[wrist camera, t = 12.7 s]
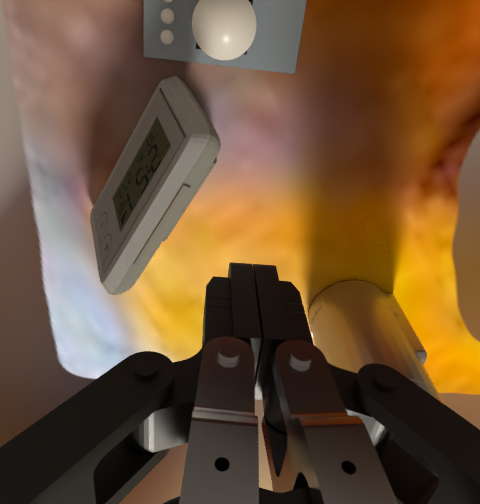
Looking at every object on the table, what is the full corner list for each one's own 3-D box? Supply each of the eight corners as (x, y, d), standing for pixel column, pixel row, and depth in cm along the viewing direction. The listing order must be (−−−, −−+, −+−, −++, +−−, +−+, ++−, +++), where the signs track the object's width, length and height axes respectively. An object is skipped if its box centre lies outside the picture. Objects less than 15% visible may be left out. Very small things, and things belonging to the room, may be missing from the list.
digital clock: (176, 61, 36) (163, 87, 27) (253, 137, 39) (264, 182, 30) (65, 193, 41) (22, 251, 32) (140, 249, 45) (121, 316, 36)
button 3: (256, -9, 33) (260, -8, 30) (249, 57, 35) (252, 63, 32) (195, -17, 32) (193, -17, 29) (192, 50, 35) (190, 56, 32)
